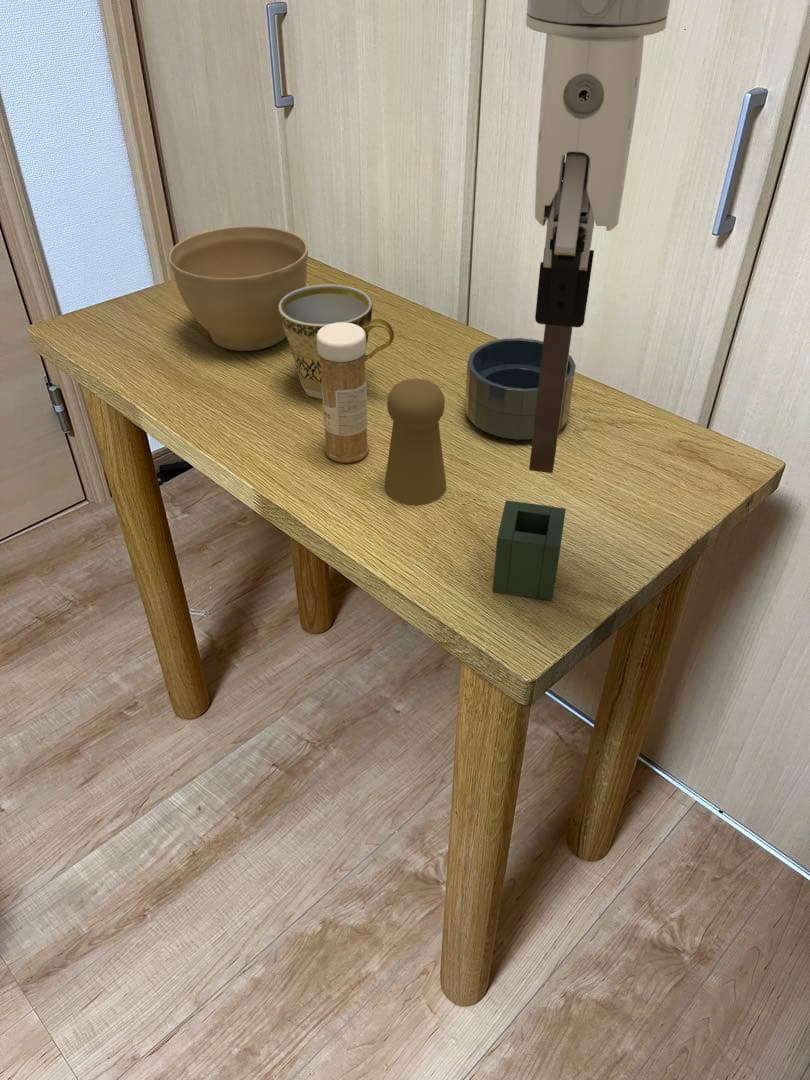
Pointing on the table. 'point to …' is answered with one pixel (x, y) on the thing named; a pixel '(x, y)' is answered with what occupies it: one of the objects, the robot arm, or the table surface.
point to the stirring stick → (550, 396)
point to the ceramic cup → (316, 310)
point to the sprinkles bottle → (344, 390)
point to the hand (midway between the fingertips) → (561, 313)
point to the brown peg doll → (415, 443)
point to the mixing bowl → (509, 387)
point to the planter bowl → (240, 282)
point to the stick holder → (528, 550)
